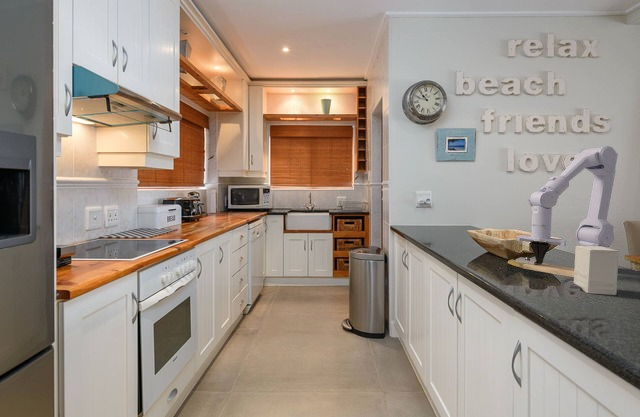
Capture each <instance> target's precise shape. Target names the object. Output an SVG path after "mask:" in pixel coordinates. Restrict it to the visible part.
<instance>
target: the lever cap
mask: <svg viewBox="0 0 640 417" xmlns="http://www.w3.org/2000/svg"><path fill="white" fill-rule="evenodd" d="M515 260H516V262H520V263H524V264H525V263H526V264H532V265H535V264H537V263H536V258H530V257H522V256H521V257H520V256H519V257H518V258H516V259H515Z"/></svg>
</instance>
